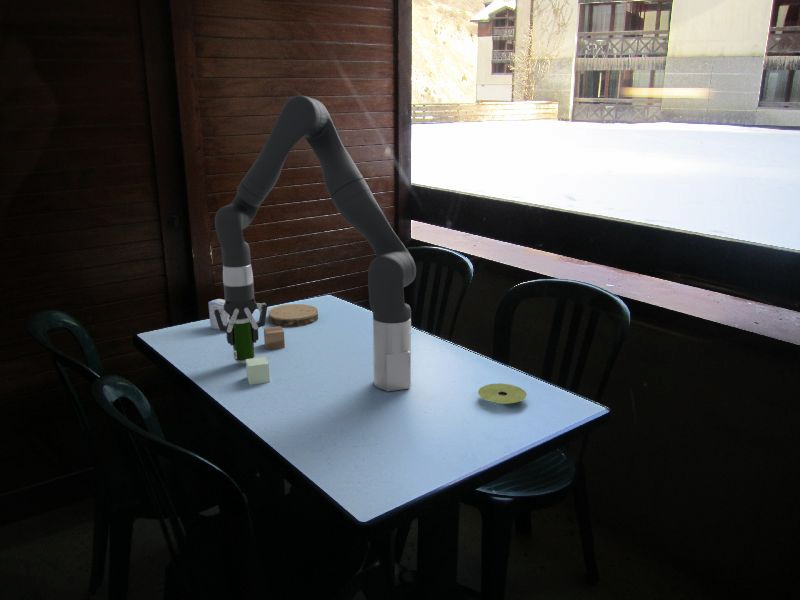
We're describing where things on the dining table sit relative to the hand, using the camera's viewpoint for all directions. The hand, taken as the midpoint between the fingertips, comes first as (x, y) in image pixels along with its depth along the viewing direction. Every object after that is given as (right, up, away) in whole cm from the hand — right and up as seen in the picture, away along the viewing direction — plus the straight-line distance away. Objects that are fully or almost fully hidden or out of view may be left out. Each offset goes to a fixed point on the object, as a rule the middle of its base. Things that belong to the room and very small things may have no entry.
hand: (243, 343), depth 175 cm
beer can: (0, -5, +1) cm, 5 cm away
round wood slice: (+7, +5, +39) cm, 40 cm away
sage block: (+6, -9, -8) cm, 13 cm away
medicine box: (-13, +2, +30) cm, 33 cm away
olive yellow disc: (+66, -12, -20) cm, 70 cm away
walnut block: (+5, -2, +15) cm, 16 cm away
